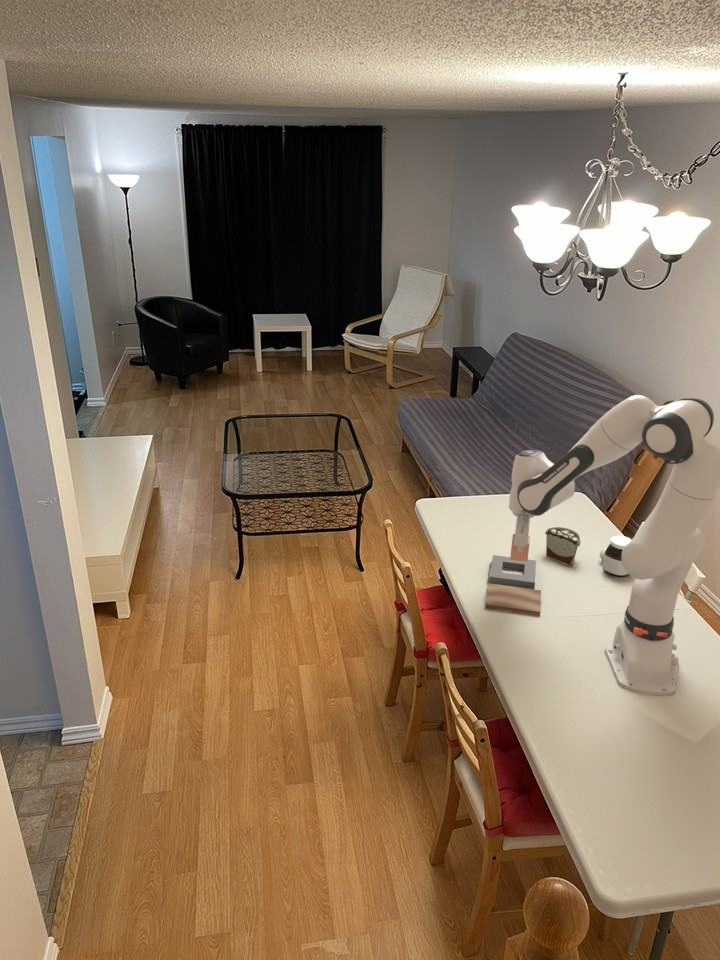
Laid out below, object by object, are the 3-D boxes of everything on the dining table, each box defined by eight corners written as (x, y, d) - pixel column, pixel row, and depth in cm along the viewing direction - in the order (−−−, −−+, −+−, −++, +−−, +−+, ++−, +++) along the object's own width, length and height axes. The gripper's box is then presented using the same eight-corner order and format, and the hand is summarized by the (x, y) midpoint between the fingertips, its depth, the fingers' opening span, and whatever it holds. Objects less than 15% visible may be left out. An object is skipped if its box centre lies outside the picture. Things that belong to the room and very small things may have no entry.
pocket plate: (534, 589, 230) (535, 582, 229) (489, 583, 233) (489, 576, 232) (535, 567, 242) (536, 560, 241) (492, 561, 245) (492, 555, 244)
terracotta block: (527, 561, 216) (529, 543, 214) (510, 559, 217) (511, 541, 215) (528, 553, 220) (530, 535, 218) (511, 551, 221) (512, 533, 219)
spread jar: (618, 582, 235) (624, 550, 230) (587, 568, 242) (592, 537, 238) (638, 569, 242) (644, 538, 237) (607, 556, 250) (613, 525, 245)
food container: (584, 561, 246) (588, 534, 242) (575, 568, 242) (579, 541, 238) (551, 548, 254) (554, 522, 250) (542, 555, 250) (545, 528, 246)
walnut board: (539, 616, 217) (540, 611, 216) (485, 608, 220) (485, 604, 219) (540, 594, 227) (541, 590, 227) (488, 587, 231) (488, 583, 230)
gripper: (534, 520, 202) (530, 564, 207) (537, 490, 220) (532, 531, 225) (511, 517, 203) (507, 561, 209) (515, 488, 221) (511, 529, 227)
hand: (520, 545), depth 217 cm, fingers closed on terracotta block, 5 cm apart
